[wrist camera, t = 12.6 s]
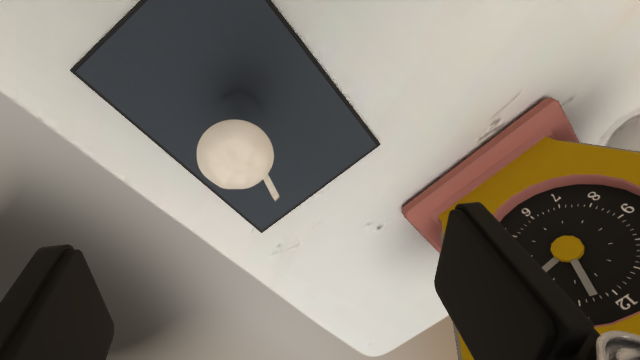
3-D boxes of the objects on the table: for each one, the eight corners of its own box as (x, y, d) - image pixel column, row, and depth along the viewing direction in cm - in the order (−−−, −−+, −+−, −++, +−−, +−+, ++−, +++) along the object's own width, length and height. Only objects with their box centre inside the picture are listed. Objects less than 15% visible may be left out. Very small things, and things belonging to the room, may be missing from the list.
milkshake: (252, 153, 31) (253, 224, 23) (197, 114, 29) (175, 177, 21) (288, 113, 30) (302, 173, 22) (233, 70, 28) (225, 117, 19)
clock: (573, 72, 33) (980, 211, 14) (603, 141, 37) (948, 316, 19) (377, 222, 38) (495, 468, 19) (424, 268, 42) (558, 503, 24)
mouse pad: (71, 69, 27) (68, 71, 26) (215, -73, 24) (214, -74, 23) (261, 231, 36) (261, 234, 36) (379, 143, 33) (381, 145, 33)
